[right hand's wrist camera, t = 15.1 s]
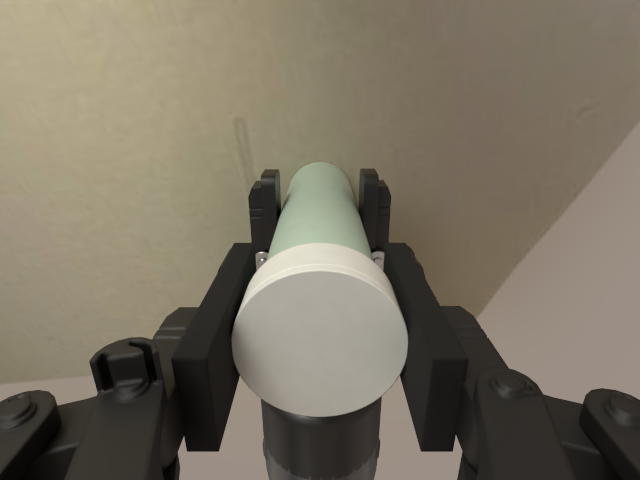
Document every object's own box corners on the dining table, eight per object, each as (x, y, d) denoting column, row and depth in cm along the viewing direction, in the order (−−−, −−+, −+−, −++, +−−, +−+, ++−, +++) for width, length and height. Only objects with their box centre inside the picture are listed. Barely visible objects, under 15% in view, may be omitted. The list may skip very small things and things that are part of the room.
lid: (254, 228, 11) (242, 254, 9) (415, 258, 12) (431, 288, 10) (234, 360, 13) (221, 403, 11) (374, 383, 13) (382, 428, 12)
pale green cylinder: (295, 155, 25) (258, 258, 10) (358, 169, 26) (414, 291, 10) (283, 215, 27) (234, 384, 12) (342, 228, 27) (371, 408, 12)
